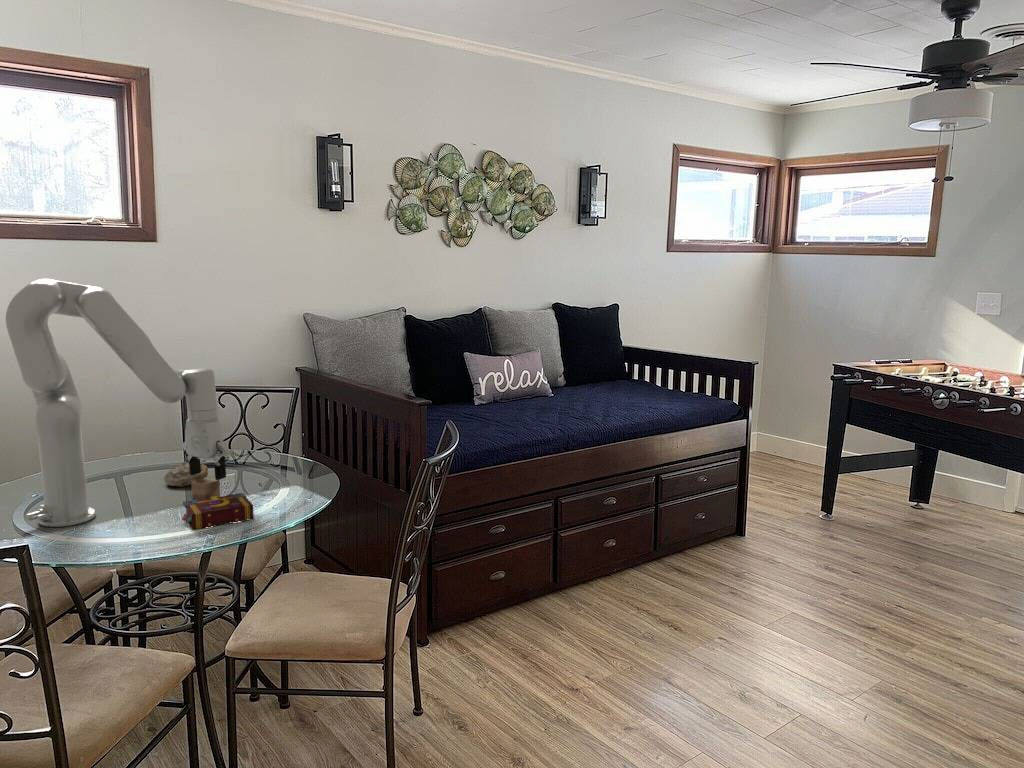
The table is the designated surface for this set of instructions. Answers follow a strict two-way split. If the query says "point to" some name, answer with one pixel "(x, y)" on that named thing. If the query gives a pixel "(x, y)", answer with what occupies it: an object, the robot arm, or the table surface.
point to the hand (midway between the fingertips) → (208, 476)
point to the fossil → (184, 475)
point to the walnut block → (205, 488)
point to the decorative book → (217, 510)
